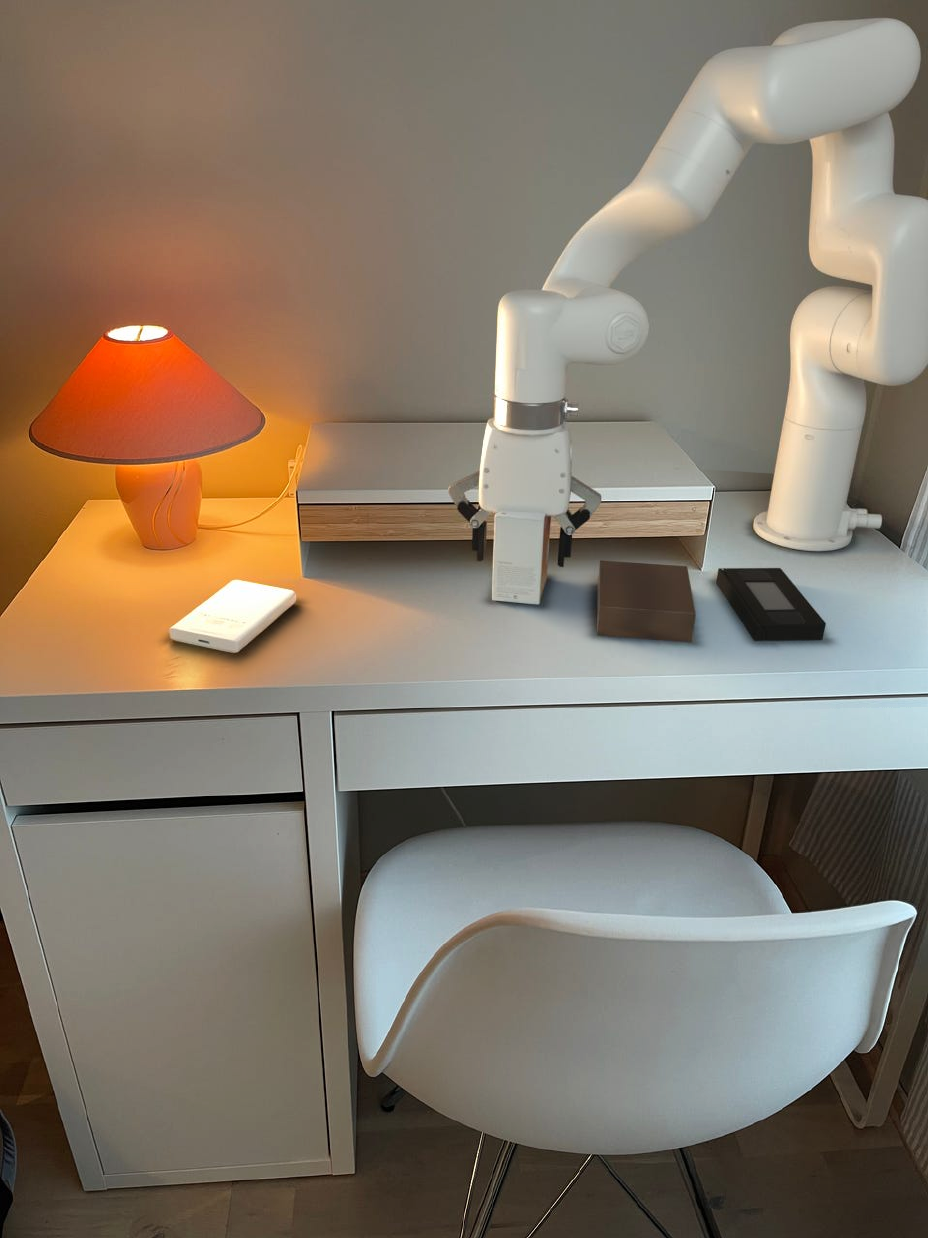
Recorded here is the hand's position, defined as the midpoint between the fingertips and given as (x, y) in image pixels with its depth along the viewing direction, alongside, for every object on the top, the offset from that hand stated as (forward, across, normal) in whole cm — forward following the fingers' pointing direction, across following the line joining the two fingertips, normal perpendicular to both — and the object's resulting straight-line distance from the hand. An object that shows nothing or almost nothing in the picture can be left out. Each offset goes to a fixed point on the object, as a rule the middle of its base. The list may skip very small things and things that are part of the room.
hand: (521, 558), depth 114 cm
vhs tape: (+4, -28, +1) cm, 28 cm away
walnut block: (+4, -14, +4) cm, 15 cm away
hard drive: (+4, +30, +13) cm, 33 cm away
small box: (+4, 0, 0) cm, 4 cm away
